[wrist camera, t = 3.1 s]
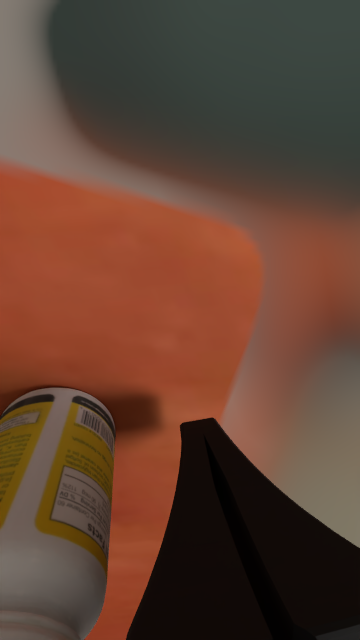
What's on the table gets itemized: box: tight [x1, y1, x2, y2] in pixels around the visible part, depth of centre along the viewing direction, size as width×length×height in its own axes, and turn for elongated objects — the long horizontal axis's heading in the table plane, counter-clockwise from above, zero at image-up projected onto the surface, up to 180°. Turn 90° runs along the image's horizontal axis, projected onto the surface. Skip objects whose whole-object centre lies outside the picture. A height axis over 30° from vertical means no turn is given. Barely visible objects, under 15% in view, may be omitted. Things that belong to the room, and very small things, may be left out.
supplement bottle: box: [0, 388, 116, 640], centre depth 9 cm, size 5×5×8 cm
